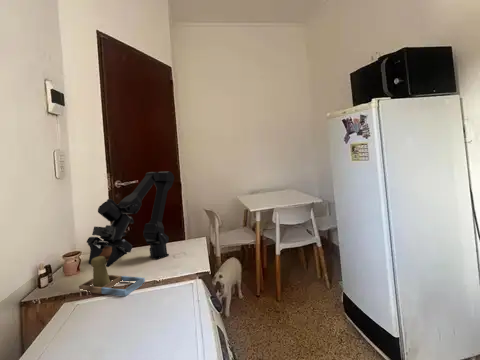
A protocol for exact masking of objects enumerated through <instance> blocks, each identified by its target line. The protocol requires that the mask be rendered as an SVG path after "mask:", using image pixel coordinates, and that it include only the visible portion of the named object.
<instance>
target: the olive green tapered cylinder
mask: <svg viewBox="0 0 480 360" xmlns="http://www.w3.org/2000/svg"><path fill="white" fill-rule="evenodd" d="M106 264H107V261H106V258H105V257H104V256H98V257H95V258H93V259H92V260H91V265H90V266H91V267H92V269H93V271H92V272H93V274H92V276H93V277H92V279H93V285H92V286H96V287H103V286H105V285H106V284H108V283H110V282H111V281H110V279H109V276H108V275H109V272H108V270H107V267H106Z"/></svg>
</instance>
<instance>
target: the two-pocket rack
mask: <svg viewBox="0 0 480 360" xmlns="http://www.w3.org/2000/svg"><path fill="white" fill-rule="evenodd" d="M108 276H109V279H110V280H113V281H110V283H108V284H106V285H105V286H103V287H96V286H93V285H92V284H93V278H91V279H90V280H88V281H86V282H84V283H82V284H80V285H78V288H79V289H78V290H80V289H83V290H87V291H90V292H89V293H91V292H92V293H93V294H99V295H100V294H102V295H108V296H110V295H111V296H120V297H127V296H128V295H130V294H131V293H133V292H134V291H135V290H137V289H138V288H140V287H141V286H143V285H144V284H145V283H146V279H145V277H140V276H139V277H138V276H127V275H117V274H115V275H114V274H108ZM122 280H123V281H136V282H135V283H131V285H129V286H127V287H126V288H124V289H123V288H115V287H113V288H111V287H112V286H114V285H115V284H116V283H118V282H120V281H122ZM144 282H145V283H144ZM143 283H144V284H143ZM142 284H143V285H142ZM90 285H92V286H90Z"/></svg>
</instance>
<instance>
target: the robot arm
mask: <svg viewBox="0 0 480 360" xmlns="http://www.w3.org/2000/svg"><path fill="white" fill-rule="evenodd" d="M174 181H175V175H174V174H173V172H172V171H149V172H146V173H145V175H144V177H143V178H142V179H141V180H140V182H139V184H138V185H137V186H136V188H134V190H133V191H132V192H131V193H130V194H128V195H126V196H125V197H124V198H123V199H121V200H120V201H119V203H118V204H117V203H116V202H115V201H114V200H113V199H112V198H108V199H106V201H104V202H103V203H101V205H99V206H98V209H97V214H99V215H101V216H102V218H103V219H105V220H107V221H108V222H110V223H111V222H112V223H111V224H110V225H109V224H106V225H105V227H104V226H93V229H92V234H91V235H92V236H90V237H88V238H87V240H86V243H87V245H88V246H89V249H90V250H89V251H90V252H89V257H88V258H89V259H88V265H90V266H92V265H91V260H92V259H93V258H95V257H98V256H99V255H100V254H101V253H102V252H103V250H102V249H104V248H105V246H108V247H112V252H111V255H110V257H109V259H108V261H106V264H105V266H106V268H109V267H111V266H112V265H113V264H115V263H116V261H118V260H120V259H121V258H122V257H124V256H125V255H127V254H128V253H131V251H132V249H133V245H132V244H131V243H130V242H129V241H128V240H126V238H122V237H126V230H127V228H128V226H129V224H134V223H135V221H134V217H133V216H129V215H136V214H138V212H139V211H140V209H141V207H142V205H143V204H142V203H143V202H142V201H143V199H144V197H145V196H146V195H147V193H148V192H149V191H150V189H151V188H152V187H153V186H155V188H156V191H155V197H154V202H153V207H152V212H151V218H150V220H149V222H148V223H145V224H144V226H143V227H144V229H143V231H142V233H143V234H142V235H143V238H144V240H145V242H146V244H147V245H149V258H150V259H151V258H152V259H154V260H160V259H163V258H165V257H169V256H170V253H168V250H167V244H168V243H169V239H170V237H169V235H167V234H166V233H165V227H164V224H163V220H164V219H163V218H164V213H165V208H166V202H167V198H168V191H170V189H171V188H172V187H173V185H174Z"/></svg>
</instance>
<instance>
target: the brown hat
mask: <svg viewBox="0 0 480 360" xmlns="http://www.w3.org/2000/svg"><path fill="white" fill-rule="evenodd" d="M102 250H103V252H102V253H101V254H100V255H99V256H104V257H105V258H106V262H107V261H108V259H109V257H110V255H111V252H112V247H108V246H105V248H104V249H102Z"/></svg>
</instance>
